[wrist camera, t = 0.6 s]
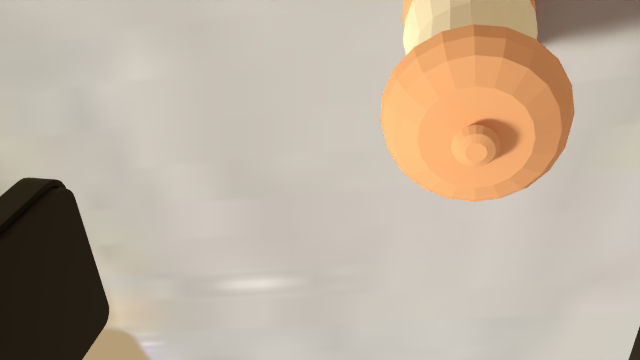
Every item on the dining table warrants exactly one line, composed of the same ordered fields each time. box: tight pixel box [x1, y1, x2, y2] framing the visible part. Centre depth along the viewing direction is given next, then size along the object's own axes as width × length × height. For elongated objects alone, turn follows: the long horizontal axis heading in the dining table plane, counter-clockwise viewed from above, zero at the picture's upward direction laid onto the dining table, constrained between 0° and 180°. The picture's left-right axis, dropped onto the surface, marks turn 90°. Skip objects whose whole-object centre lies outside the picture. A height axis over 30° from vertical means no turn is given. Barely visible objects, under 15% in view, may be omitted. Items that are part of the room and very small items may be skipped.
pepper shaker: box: [380, 0, 574, 202], centre depth 28 cm, size 7×7×19 cm
